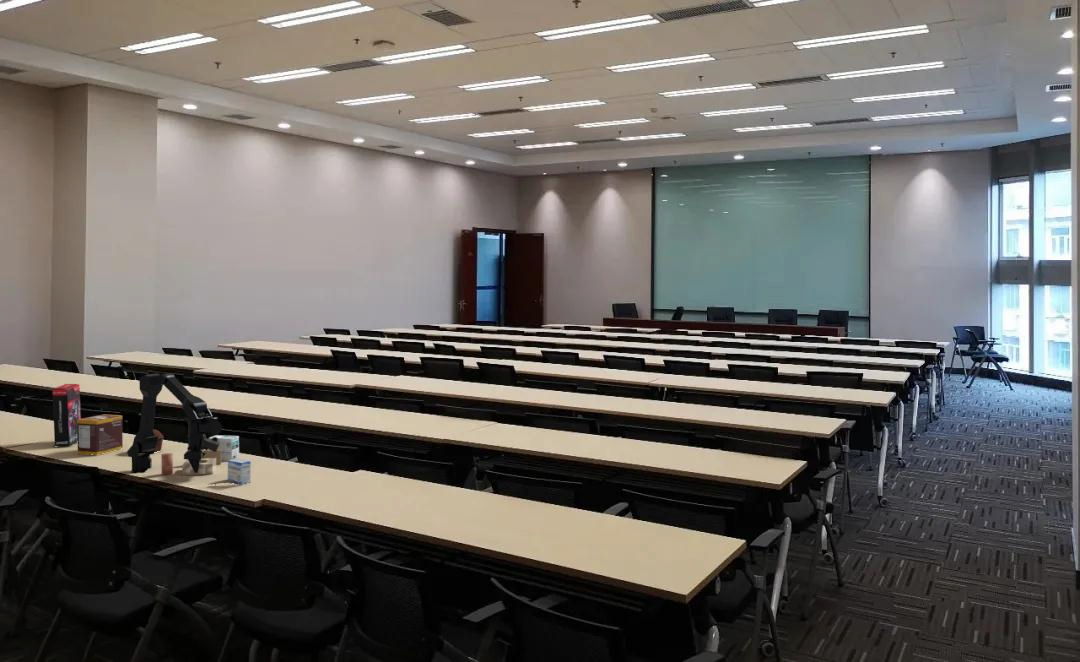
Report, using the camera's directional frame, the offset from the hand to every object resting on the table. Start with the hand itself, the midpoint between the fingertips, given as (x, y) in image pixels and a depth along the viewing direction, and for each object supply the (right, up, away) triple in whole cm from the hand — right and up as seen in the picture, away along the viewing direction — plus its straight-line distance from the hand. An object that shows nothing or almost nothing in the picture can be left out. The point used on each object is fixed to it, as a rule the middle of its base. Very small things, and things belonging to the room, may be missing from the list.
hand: (196, 472), depth 312 cm
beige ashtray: (-2, -1, +8) cm, 8 cm away
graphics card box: (-86, +2, +61) cm, 106 cm away
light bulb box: (-1, -1, +31) cm, 31 cm away
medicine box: (+19, -3, -5) cm, 19 cm away
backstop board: (-3, -2, +11) cm, 12 cm away
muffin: (-41, +1, +47) cm, 63 cm away
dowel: (-12, -2, +2) cm, 13 cm away
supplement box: (-62, +1, +46) cm, 77 cm away
